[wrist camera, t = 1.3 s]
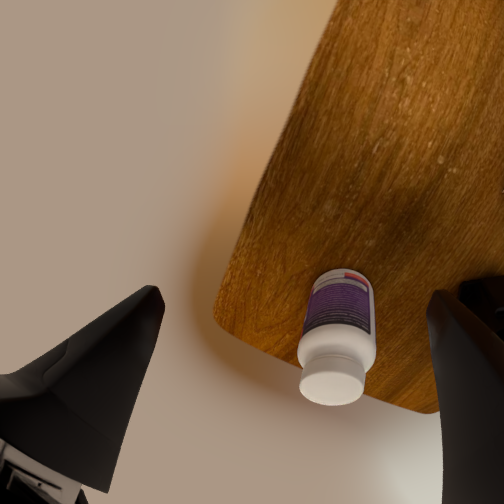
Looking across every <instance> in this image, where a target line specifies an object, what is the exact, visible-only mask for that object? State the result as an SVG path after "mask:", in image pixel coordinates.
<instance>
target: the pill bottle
mask: <svg viewBox="0 0 504 504" xmlns="http://www.w3.org/2000/svg"><path fill="white" fill-rule="evenodd" d="M375 357H376V324H375V308H374V295H373V289H372V286H371V284H370V282H369V281H368V280H367V279H366V278H365V277H364V276H363V275H362V274H360V273H358V272H356V271H353V270H350V269H335V270H331V271H329V272H326V273H324V274H323V275H321V276H320V277H319V278H318V279H317V280H316V282H315V283H314V285H313V287H312V290H311V293H310V298H309V302H308V307H307V312H306V316H305V320H304V325H303V329H302V333H301V338H300V341H299V345H298V359H299V362H300V364H301V366H302V367H303V371H302V376H301V381H300V385H299V386H300V387H299V388H300V391H301V393H302V394H303V395H304V396H305V397H306V398H307V399H309V400H311V401H313V402H316V403H319V404H323V405H344V404H348V403H351V402H353V401H355V400H357V399H358V398H359V397H360V396H361V395H362V393H363V391H364V384H365V377H366V375H365V373H366V372H367V371H368V370H369V369H370V368H371V366H372V365H373V363H374V360H375Z"/></svg>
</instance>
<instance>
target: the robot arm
mask: <svg viewBox="0 0 504 504" xmlns="http://www.w3.org/2000/svg"><path fill="white" fill-rule="evenodd" d="M466 286H467V287H466ZM464 287H466V288H464ZM164 312H165V303H164V300H163V298H162V296H161V293H160V291H159V288H158V287H157V286H152V285H146V286H144V287H143V288H141V289H140V290H138V291H137V292H135V293H134V294H132V295H131V296H129V297H128V298H126V299H124V300H123V301H122V302H120V303H119V304H117V305H116V306H114V307H113V308H111V309H110V310H108V311H107V312H105V313H104V314H102V315H101V316H99V317H98V318H96V319H95V320H94V321H92V322H91V323H89V324H88V325H86V326H85V327H83V328H82V329H80V330H79V331H78V332H76V333H75V334H73V335H72V336H71V337H69V338H68V339H66V340H65V341H63V342H62V343H60V344H59V345H57V346H56V347H55V348H53V349H51V350H50V351H48V352H47V353H45V354H44V355H42V356H40V357H39V358H37V359H36V360H34V361H32V362H31V363H29V364H27V365H26V366H24V367H22V368H21V369H19V370H17V371H16V372H13V373H10V374H4V375H0V504H88V501H87V499H86V497H85V494H84V491H83V490H82V489H81V486H82V484H84V485H86V486H88V487H91V488H94V489H96V490H99V491H101V492H104V493H108V491H109V488H110V484H111V481H112V477H113V473H114V470H115V466H116V463H117V459H118V456H119V453H120V449H121V445H122V442H123V439H124V436H125V432H126V429H127V426H128V423H129V419H130V417H131V414H132V411H133V408H134V405H135V402H136V399H137V396H138V392H139V390H140V387H141V384H142V381H143V379H144V376H145V373H146V370H147V367H148V365H149V362H150V359H151V356H152V353H153V351H154V348H155V344H156V341H157V338H158V334H159V330H160V326H161V323H162V319H163V315H164ZM426 316H427V323H428V331H429V339H430V349H431V357H432V363H433V368H434V374H435V380H436V386H437V393H438V401H439V409H440V419H441V428H442V429H441V430H442V446H443V490H442V504H504V276H498V277H491V278H484V279H478V280H471V281H464V282H462V283H461V285H460V288H459V293H458V298H455V297H454V296H453V295H452V294H451V293H449V292H448V291H447V290H444V289H443V290H435V291H434V292H433V294H432V297H431V300H430V302H429V305H428V308H427V312H426Z"/></svg>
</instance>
